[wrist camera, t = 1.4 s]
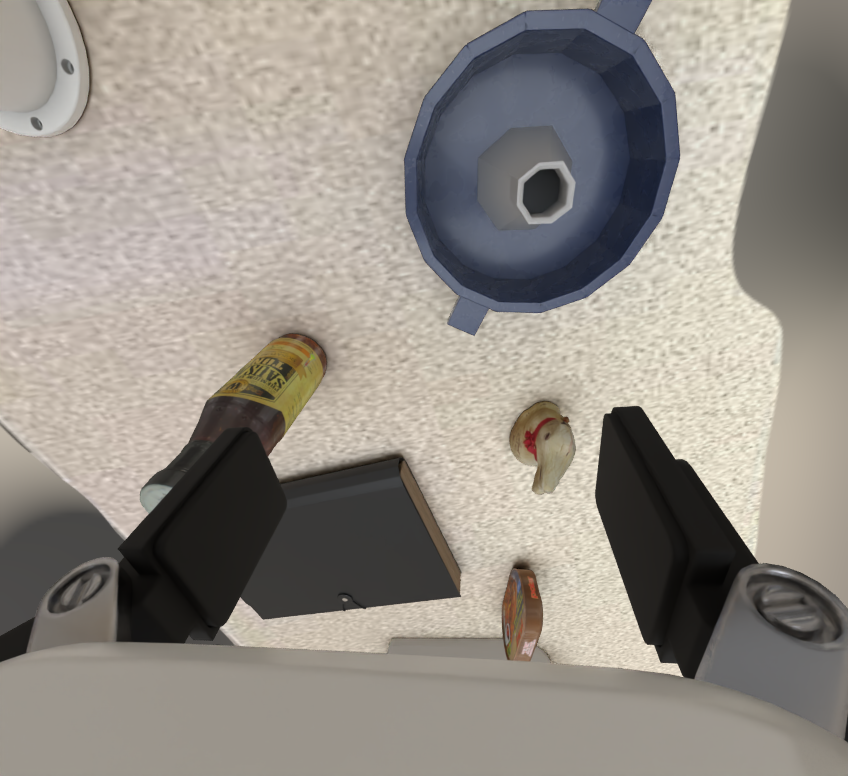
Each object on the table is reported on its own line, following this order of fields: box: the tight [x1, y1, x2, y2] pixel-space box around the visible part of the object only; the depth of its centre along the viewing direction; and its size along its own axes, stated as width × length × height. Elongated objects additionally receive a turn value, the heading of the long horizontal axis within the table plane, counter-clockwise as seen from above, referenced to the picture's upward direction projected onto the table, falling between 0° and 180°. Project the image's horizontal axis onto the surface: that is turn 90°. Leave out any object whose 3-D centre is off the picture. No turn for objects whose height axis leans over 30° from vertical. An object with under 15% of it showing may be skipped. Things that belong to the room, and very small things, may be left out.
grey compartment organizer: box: [388, 638, 551, 663], centre depth 67 cm, size 17×28×9 cm, turn 101°
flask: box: [477, 126, 576, 231], centre depth 25 cm, size 7×7×10 cm
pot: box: [404, 0, 680, 336], centre depth 27 cm, size 17×22×6 cm
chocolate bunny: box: [510, 401, 576, 495], centre depth 38 cm, size 6×8×10 cm
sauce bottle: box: [140, 334, 327, 513], centre depth 32 cm, size 7×6×20 cm
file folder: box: [240, 458, 461, 619], centre depth 54 cm, size 33×4×24 cm
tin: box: [502, 568, 543, 662], centre depth 54 cm, size 15×3×8 cm, turn 177°
